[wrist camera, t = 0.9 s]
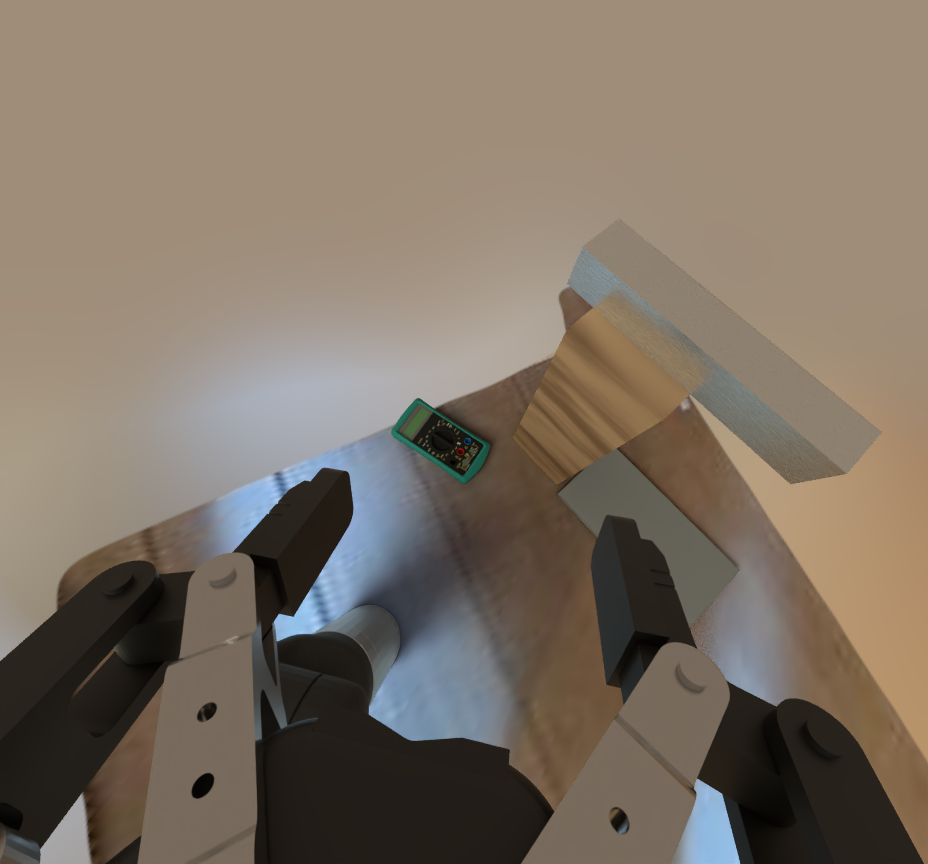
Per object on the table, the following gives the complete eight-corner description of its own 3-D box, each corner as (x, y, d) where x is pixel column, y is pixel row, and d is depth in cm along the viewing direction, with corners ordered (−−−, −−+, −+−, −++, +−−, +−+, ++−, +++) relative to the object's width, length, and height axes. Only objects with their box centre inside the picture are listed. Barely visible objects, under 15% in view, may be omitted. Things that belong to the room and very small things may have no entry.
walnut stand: (556, 485, 58) (664, 418, 28) (512, 438, 60) (567, 328, 30) (600, 444, 60) (746, 340, 30) (556, 400, 62) (650, 260, 32)
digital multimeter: (467, 488, 59) (468, 485, 56) (391, 436, 61) (388, 431, 58) (493, 450, 60) (494, 445, 58) (418, 401, 63) (416, 394, 60)
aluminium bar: (790, 484, 26) (846, 473, 23) (566, 283, 31) (582, 246, 27) (822, 448, 27) (881, 432, 23) (600, 257, 32) (619, 218, 28)
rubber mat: (682, 629, 53) (686, 631, 52) (556, 494, 58) (558, 493, 57) (734, 569, 55) (739, 570, 54) (609, 445, 60) (611, 443, 59)
